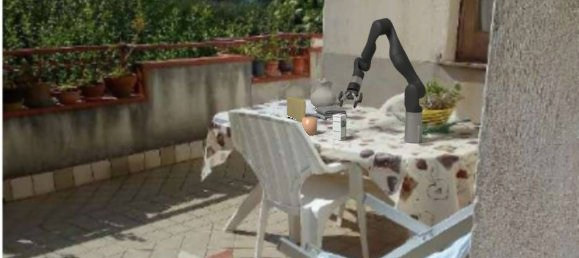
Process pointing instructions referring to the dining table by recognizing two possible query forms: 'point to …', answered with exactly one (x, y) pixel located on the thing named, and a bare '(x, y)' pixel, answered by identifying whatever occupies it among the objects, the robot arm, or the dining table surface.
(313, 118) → the peach rounded cylinder
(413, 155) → the dining table surface
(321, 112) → the towel
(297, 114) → the cheese
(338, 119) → the syrup box
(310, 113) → the dining table surface
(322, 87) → the ceramic pitcher
